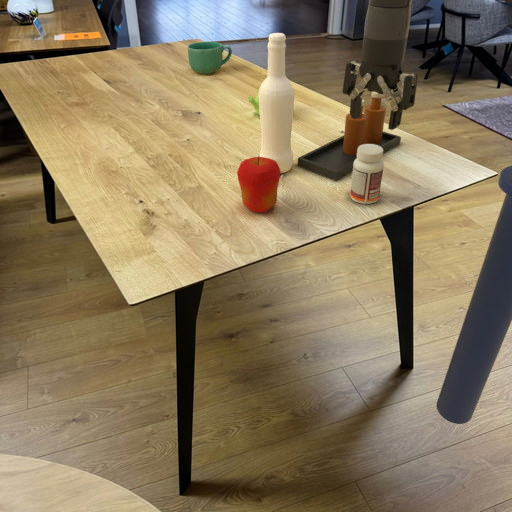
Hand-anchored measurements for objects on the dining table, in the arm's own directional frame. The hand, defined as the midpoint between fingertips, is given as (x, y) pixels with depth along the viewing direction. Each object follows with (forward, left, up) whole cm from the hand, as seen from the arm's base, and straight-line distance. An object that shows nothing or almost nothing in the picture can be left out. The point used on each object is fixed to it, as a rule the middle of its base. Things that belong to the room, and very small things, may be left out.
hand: (373, 123), depth 93 cm
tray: (+15, -16, -17) cm, 27 cm away
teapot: (+49, -23, -17) cm, 57 cm away
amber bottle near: (+15, -17, -16) cm, 28 cm away
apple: (+14, +18, -17) cm, 28 cm away
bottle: (+24, +2, -17) cm, 29 cm away
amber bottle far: (+15, -25, -16) cm, 33 cm away
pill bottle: (0, 0, -17) cm, 17 cm away
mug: (+98, -42, -17) cm, 108 cm away
